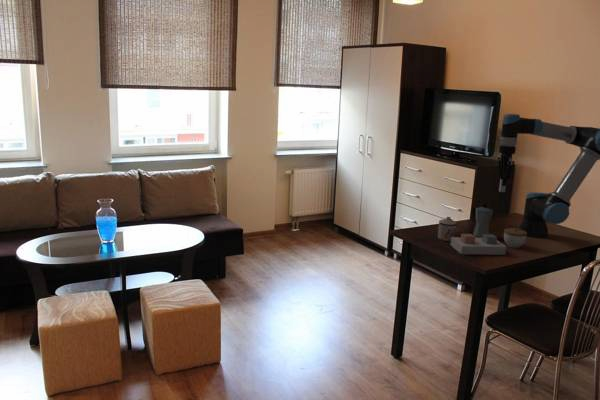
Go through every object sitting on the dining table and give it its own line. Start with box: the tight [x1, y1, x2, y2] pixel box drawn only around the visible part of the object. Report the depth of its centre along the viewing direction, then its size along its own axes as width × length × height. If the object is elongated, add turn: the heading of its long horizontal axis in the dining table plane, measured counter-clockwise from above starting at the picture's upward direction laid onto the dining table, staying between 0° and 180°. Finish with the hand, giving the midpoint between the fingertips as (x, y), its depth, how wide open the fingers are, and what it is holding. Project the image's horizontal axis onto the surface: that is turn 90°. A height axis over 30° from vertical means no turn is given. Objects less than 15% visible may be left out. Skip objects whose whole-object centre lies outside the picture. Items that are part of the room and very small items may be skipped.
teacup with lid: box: [437, 216, 459, 242], centre depth 273 cm, size 12×9×12 cm
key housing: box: [450, 236, 508, 256], centre depth 257 cm, size 22×14×4 cm, turn 95°
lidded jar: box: [503, 227, 527, 249], centre depth 265 cm, size 11×11×9 cm
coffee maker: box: [472, 202, 494, 238], centre depth 281 cm, size 15×9×18 cm, turn 20°
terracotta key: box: [460, 233, 476, 244], centre depth 256 cm, size 5×5×4 cm
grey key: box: [482, 233, 498, 244], centre depth 257 cm, size 5×5×4 cm
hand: (501, 191), depth 267 cm, fingers closed
